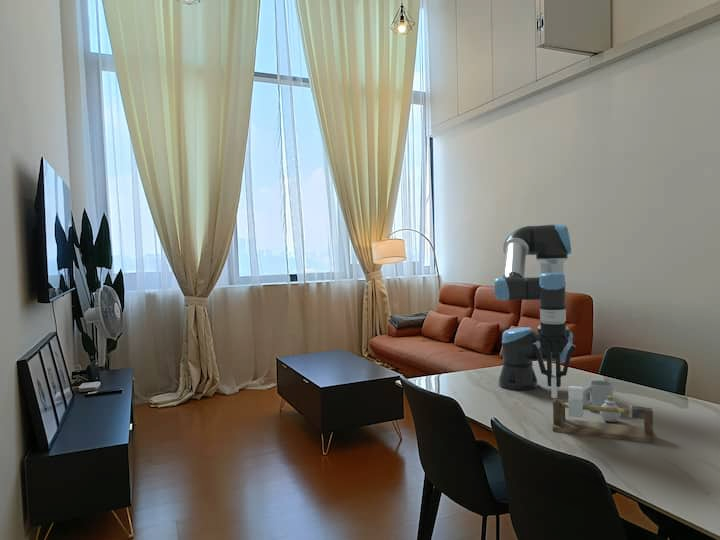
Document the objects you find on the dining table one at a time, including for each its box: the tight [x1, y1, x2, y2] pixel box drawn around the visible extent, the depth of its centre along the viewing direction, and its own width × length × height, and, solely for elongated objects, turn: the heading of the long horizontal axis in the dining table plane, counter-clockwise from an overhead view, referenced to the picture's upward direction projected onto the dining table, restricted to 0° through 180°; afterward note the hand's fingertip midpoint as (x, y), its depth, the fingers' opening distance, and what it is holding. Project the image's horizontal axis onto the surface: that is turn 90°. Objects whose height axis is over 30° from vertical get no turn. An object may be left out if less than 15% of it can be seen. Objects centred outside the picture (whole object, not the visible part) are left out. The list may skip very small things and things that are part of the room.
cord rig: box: [552, 398, 655, 444], centre depth 152 cm, size 27×9×9 cm, turn 64°
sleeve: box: [567, 385, 584, 418], centre depth 155 cm, size 4×5×8 cm
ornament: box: [597, 391, 622, 423], centre depth 160 cm, size 6×7×10 cm
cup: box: [583, 379, 614, 406], centre depth 172 cm, size 7×10×9 cm
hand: (554, 396), depth 157 cm, fingers closed
